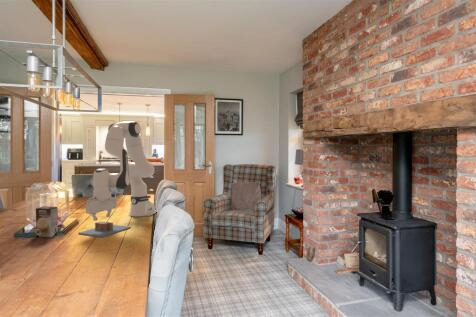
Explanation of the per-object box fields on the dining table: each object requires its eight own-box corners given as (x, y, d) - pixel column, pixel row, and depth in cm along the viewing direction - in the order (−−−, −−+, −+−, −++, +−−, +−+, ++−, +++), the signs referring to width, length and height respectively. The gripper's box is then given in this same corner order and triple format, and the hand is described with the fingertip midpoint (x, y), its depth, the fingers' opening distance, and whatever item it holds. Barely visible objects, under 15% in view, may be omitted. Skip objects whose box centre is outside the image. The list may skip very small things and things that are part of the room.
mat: (108, 225, 195) (108, 224, 195) (130, 228, 188) (130, 226, 188) (78, 234, 175) (78, 232, 175) (101, 237, 168) (101, 236, 168)
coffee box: (35, 237, 170) (34, 208, 169) (43, 233, 176) (43, 206, 176) (50, 237, 169) (50, 208, 168) (58, 234, 175) (58, 206, 175)
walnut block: (100, 221, 186) (112, 222, 182) (100, 227, 186) (113, 229, 182) (95, 222, 182) (107, 224, 178) (95, 229, 182) (107, 231, 178)
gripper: (90, 198, 172) (91, 223, 172) (118, 193, 190) (118, 215, 191) (82, 198, 174) (83, 222, 174) (110, 193, 193) (111, 214, 193)
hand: (101, 218), depth 183 cm, fingers open, 8 cm apart
